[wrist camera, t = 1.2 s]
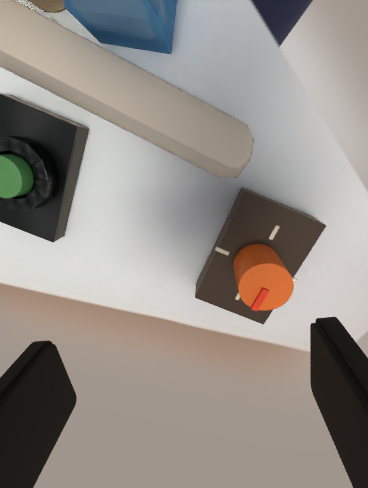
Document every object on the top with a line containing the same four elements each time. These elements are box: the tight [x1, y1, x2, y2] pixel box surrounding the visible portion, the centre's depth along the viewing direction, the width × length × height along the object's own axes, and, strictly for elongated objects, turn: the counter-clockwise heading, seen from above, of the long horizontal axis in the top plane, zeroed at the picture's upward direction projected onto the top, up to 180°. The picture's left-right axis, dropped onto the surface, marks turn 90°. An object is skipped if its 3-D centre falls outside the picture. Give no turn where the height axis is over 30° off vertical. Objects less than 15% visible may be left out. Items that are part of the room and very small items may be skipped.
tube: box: [0, 0, 254, 178], centre depth 22 cm, size 5×5×25 cm
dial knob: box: [233, 244, 294, 311], centre depth 23 cm, size 4×4×5 cm
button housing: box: [0, 93, 89, 242], centre depth 25 cm, size 12×8×4 cm, turn 158°
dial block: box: [195, 188, 326, 324], centre depth 27 cm, size 12×9×3 cm
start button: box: [0, 154, 34, 198], centre depth 23 cm, size 4×4×2 cm
